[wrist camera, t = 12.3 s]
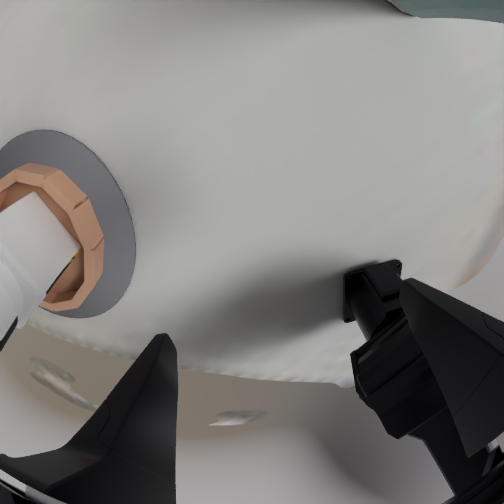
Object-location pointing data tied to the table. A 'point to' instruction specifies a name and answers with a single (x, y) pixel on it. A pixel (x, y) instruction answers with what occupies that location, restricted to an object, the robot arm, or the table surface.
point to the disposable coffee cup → (453, 9)
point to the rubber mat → (103, 203)
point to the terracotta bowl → (75, 221)
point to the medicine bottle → (30, 259)
